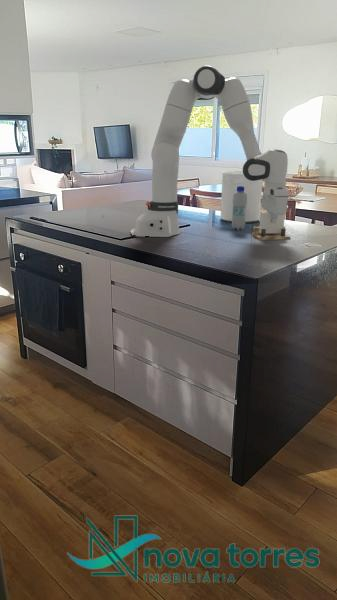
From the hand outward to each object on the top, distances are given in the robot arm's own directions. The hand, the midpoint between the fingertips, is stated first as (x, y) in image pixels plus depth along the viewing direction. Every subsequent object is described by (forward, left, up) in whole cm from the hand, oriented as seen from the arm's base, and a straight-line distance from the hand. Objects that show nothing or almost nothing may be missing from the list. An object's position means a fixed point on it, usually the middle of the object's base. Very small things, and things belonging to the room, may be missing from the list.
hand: (271, 222), depth 193 cm
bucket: (-1, +43, -7) cm, 43 cm away
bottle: (-9, +19, -7) cm, 22 cm away
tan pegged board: (0, 0, -6) cm, 7 cm away
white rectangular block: (0, 0, -5) cm, 5 cm away
